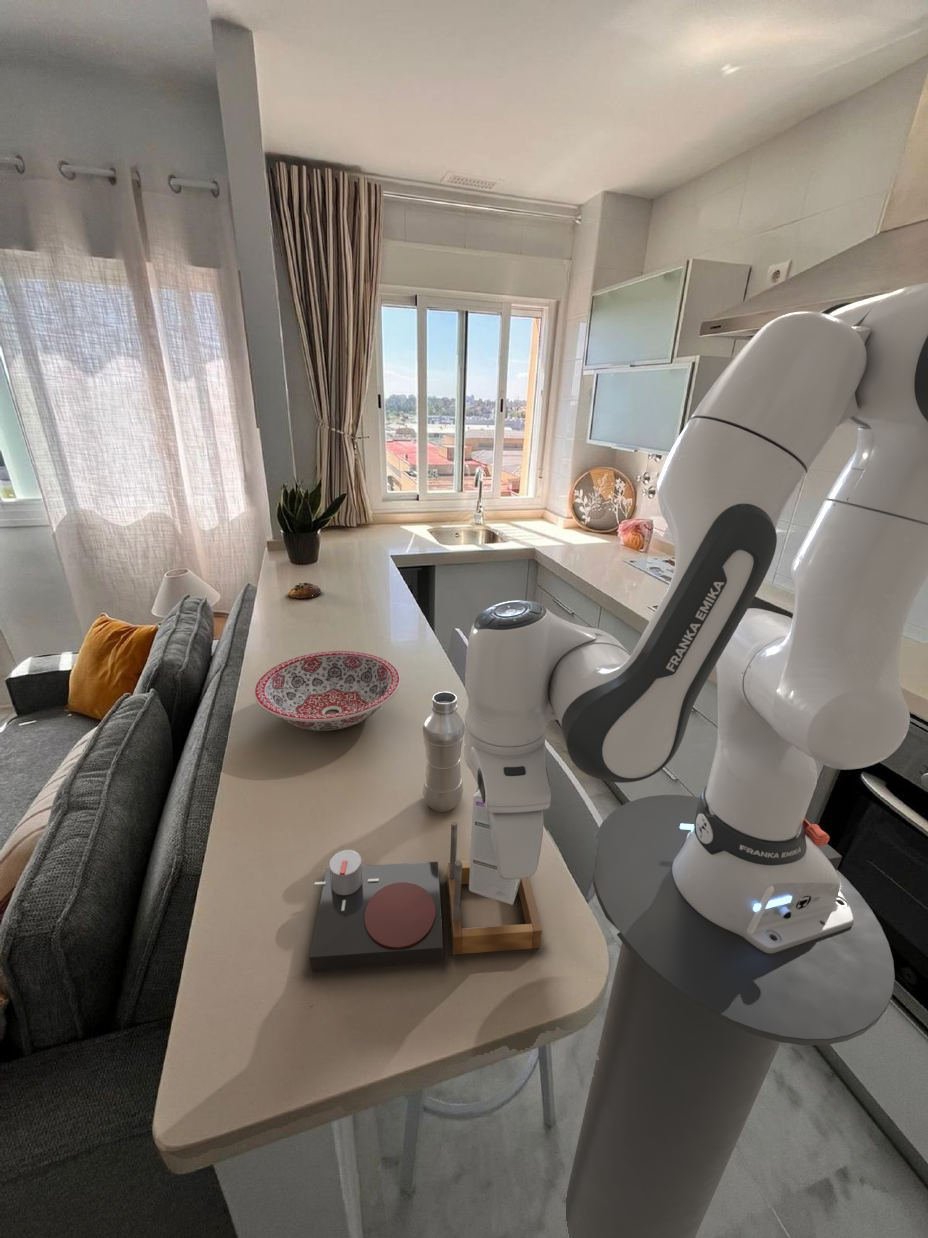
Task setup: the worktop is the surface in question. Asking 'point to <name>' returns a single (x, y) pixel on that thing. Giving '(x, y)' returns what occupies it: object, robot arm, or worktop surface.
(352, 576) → the worktop surface
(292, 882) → the worktop surface
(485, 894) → the syrup box
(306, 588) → the bread roll
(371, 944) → the hob
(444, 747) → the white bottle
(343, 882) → the hob knob
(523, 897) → the brown wooden holder
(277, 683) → the ceramic bowl
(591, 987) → the worktop surface
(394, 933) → the hotplate
